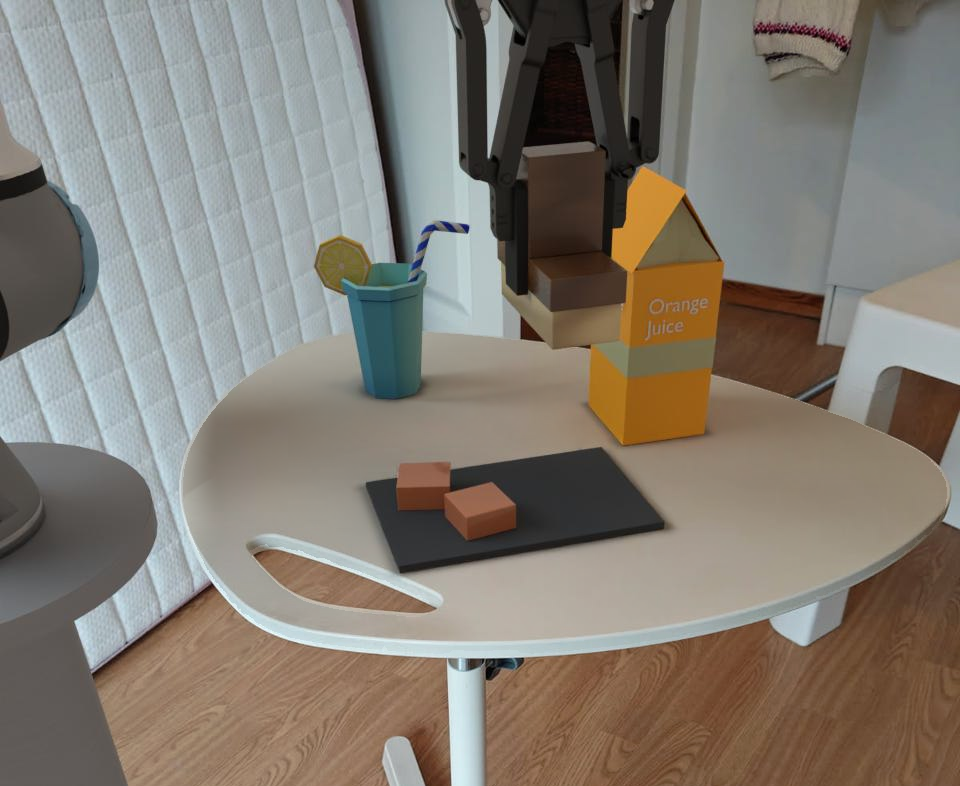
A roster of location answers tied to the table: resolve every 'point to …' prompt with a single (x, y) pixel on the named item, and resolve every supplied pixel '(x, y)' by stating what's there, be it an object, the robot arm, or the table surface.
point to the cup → (382, 309)
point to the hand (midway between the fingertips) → (557, 283)
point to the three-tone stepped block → (567, 248)
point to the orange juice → (659, 319)
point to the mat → (520, 509)
